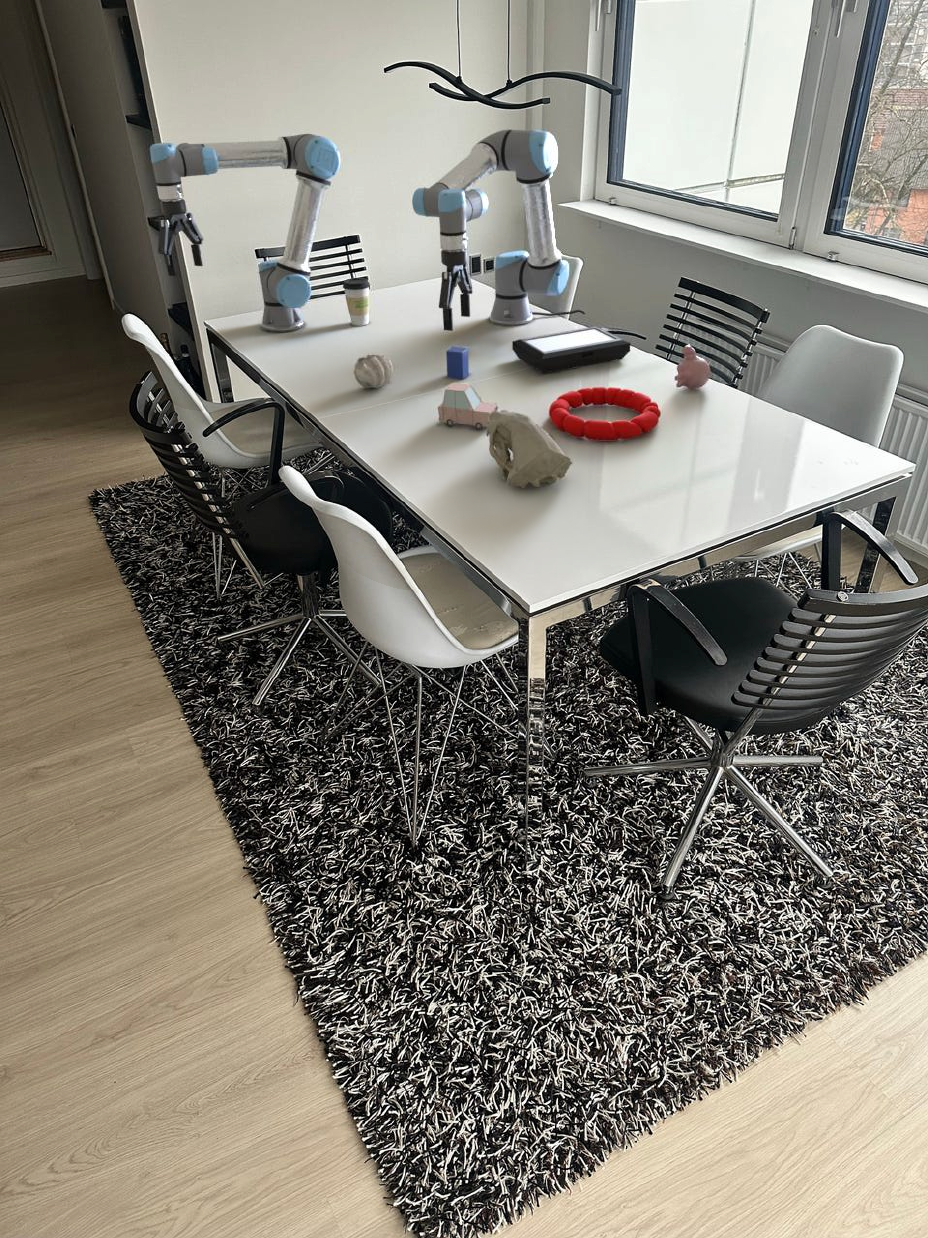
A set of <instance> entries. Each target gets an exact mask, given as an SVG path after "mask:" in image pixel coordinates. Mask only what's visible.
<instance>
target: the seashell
mask: <svg viewBox="0 0 928 1238" xmlns="http://www.w3.org/2000/svg"><path fill="white" fill-rule="evenodd" d="M393 374H394V367H393V364H392V361H391V359H390V358H386V357H385V356H384V355H379V354H367V355H366V356H365V357H358V359H357V360H356V362H355V364H354V370H353V375H354V379H355V380H356V382H357V383H358V385H360V386H361V387H363V388H365V389H366V388H367V389H370V388H375V389H380V388H383V387H385V386H386V385H387V384H388V383H389V381H390V380H391V378H392V377H393Z"/></svg>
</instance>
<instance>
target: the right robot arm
mask: <svg viewBox="0 0 928 1238" xmlns="http://www.w3.org/2000/svg"><path fill="white" fill-rule="evenodd" d="M557 144H558V143H557V141H556V139H555V137H554V135H553V134H552V133H550V132H549V131H546V130H545V131H544V130H539V129H531V130H530V129H529V130H528V129H502V130H497V131H496V132H494V133H491V134H489V135H488V136H486V137H484V138H483V139H481V140H479V141H478V142H477V143H476V144H475V145H473V146H472V148H471V149H470V152H469V154H468V155H467V156H465V157H464V158H463V159H462V160H461V161H460V162H459V163H457V164H456V165H455V166H454V167H453V168H451V169H450V170H449V171H448V172H447V173H445V174H444V175H442V177H441V178H439V179H438V180H437V181H436V182H435V183H433V185H431V186H430V187H425V186H424V187H418V188H417V189H415V191H414V192H413V195H412V200H411V205H412V209H413V211H414V213H415V214H416V215H418V216H423V217H425V218H428V217H431V218H438V221H439V244H440V245H439V247H440V249H441V251H440V259H441V260H440V261H441V264H442V265H444V266H445V267H446V270H445V271H442V272H441V284H440V292H439V301H438V308H439V309H442V321H443V322H442V324H443V331H448V332H449V331H450V332H453V331H454V321H453V320H454V319H453V308H452V303H453V298H454V293H455V288H456V287H457V286H458V289H459V291H460V295H459V299H460V317H465V318H470V317H471V301H470V299H471V298H470V295H472V294H473V285H472V284H473V283H472V280H471V276H470V271H469V267H468V250H467V241H468V239H469V238H468V237H467V223H468V222H471V221H473V220H476V219H480V218H481V216H484V214H485V213H486V212H487V211H488V209H489V199H488V196H487V194H486V193H485V192H484V191H483V190H482V189H480V188H473V187H474V185H476V184H477V183H478V182H479V181H480V180H481V179H482V178H484V177H485V176H490V175H492V174H493V173H495V172H498V171H499V172H500V171H501V172H502V171H503V172H505V171H506V172H515V179H516V182H517V183H518V184H520V185H521V187H522V195H523V203H524V211H525V218H526V228H527V235H528V241H529V242H528V243H529V249H530V253H529V252H528V251H526V250H513V251H508V252H504V253H501V254H499V255H498V256H496V257H495V260H494V261H495V262H494V281H495V282H494V291H495V295H494V296H495V297H494V302H493V306H492V309H491V312H490V322H492V323H493V324H495V325H499V326H520V325H521V326H522V325H525V324H528V323H530V322H532V321H533V316H544V317H554V316H561V315H573V314H576V313H580V314H582V315H587V313H586V312H585V310H582V309H574V310H570V311H558V312H550V313H549V312H539V311H532V308H531V305H530V302H529V298H528V297H529V296H528V295H529V294H535V295H536V294H537V295H544V296H547V297H548V296H556V297H557V296H559V295H561V294H562V293H563V291H564V290H565V288H566V286H567V283H568V280H569V275H570V266H569V265H570V264H569V262H568V261H567V260H565V259H563V260H562V253H561V251H560V250H559V249H558V248H557V246H556V238H555V227H554V220H553V217H554V216H553V208H552V201H551V190H550V182H549V181H550V179H551V178H552V176H553V172H555V170H556V168H557V165H558V162H559V161H558V159H559V149H558V145H557Z"/></svg>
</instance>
